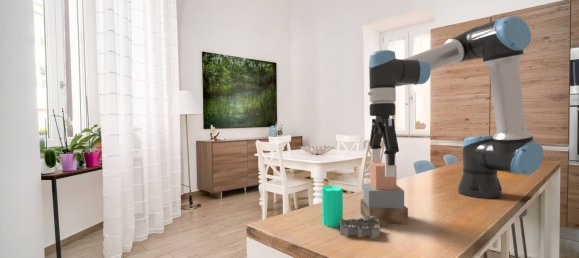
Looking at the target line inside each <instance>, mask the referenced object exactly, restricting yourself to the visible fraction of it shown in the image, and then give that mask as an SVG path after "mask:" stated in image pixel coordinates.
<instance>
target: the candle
mask: <svg viewBox="0 0 579 258" xmlns="http://www.w3.org/2000/svg"><path fill="white" fill-rule="evenodd" d="M343 193H344V191H343V187H341V186H335V185H333V182H331V185H328V184H327V185H324V186H322V187H321V209H322V210H321V211H322V212H321V213H322V214H321V215H322V217H321V218H322V219H321V221H322V225H324V226H327V227H331V228H334V227H335V228H336V227H340V225H341V224H340V218H341V219H344V206H343V205H344V202H343V200H344V199H343V197H344V196H343V195H344V194H343Z"/></svg>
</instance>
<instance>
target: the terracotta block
mask: <svg viewBox="0 0 579 258" xmlns="http://www.w3.org/2000/svg"><path fill="white" fill-rule="evenodd" d="M395 176H396V177H385V162H381V163H372V162H370V184H371V186H372V187H373V188H375V189H376V190H390V189H396V185H397V165H396V164H395Z"/></svg>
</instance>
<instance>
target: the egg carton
mask: <svg viewBox="0 0 579 258" xmlns="http://www.w3.org/2000/svg"><path fill="white" fill-rule="evenodd" d="M340 224H341V225H340V226H339V229H340V230H339V235H343V236H344V237H350V236H356V237H357V238H364V237H370V238H371V239H376V238H377V237H380V235H381V234H380V233H381V231H380V230H381V225H380V224H379V220H378V216H368V217H366V218H364V217H360V218H350V219H345V218H343V219H341V218H340Z"/></svg>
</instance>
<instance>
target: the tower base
mask: <svg viewBox="0 0 579 258" xmlns="http://www.w3.org/2000/svg"><path fill="white" fill-rule="evenodd" d="M360 214H361V215H362V218H366V217H368V216H378V220H379V224H380V226H383V225H385V226H391V225H393V226H394V224H396V225H408V224H409V208H408V207H407V206H406V205H404V208H369V207H368V205H367V204H366V202H365V201H364V198H360Z"/></svg>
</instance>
